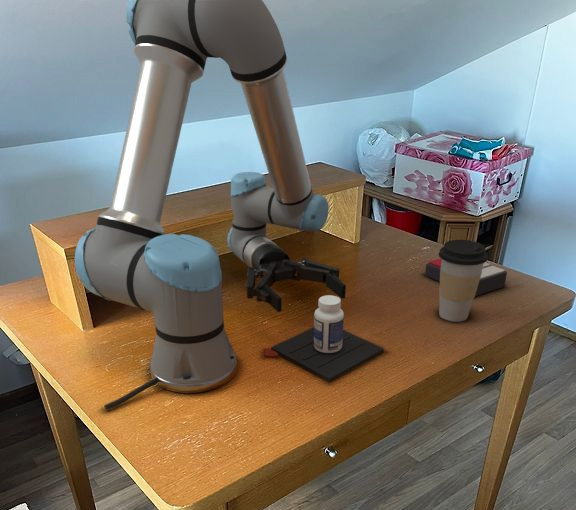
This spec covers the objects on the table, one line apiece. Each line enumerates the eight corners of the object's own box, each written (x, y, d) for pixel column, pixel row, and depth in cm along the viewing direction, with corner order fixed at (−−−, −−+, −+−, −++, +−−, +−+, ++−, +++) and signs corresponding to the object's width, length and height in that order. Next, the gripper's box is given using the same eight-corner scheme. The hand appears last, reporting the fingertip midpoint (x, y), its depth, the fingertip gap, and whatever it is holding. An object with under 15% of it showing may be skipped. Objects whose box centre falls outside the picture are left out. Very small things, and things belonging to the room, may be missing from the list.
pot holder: (319, 387, 103) (320, 383, 102) (258, 353, 112) (258, 349, 111) (383, 352, 113) (384, 347, 112) (322, 323, 122) (322, 319, 122)
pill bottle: (343, 341, 114) (346, 294, 109) (340, 355, 110) (343, 307, 104) (315, 338, 115) (317, 292, 109) (311, 352, 110) (312, 304, 105)
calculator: (458, 251, 146) (508, 268, 135) (456, 268, 148) (505, 286, 137) (425, 260, 141) (474, 279, 130) (423, 277, 143) (471, 297, 132)
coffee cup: (477, 327, 121) (491, 257, 112) (429, 323, 122) (440, 253, 114) (474, 307, 128) (487, 239, 120) (430, 303, 130) (439, 236, 122)
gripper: (317, 266, 135) (367, 304, 119) (213, 286, 126) (252, 329, 110) (318, 234, 131) (370, 268, 115) (210, 252, 122) (250, 292, 106)
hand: (312, 298), depth 113 cm, fingers open, 13 cm apart
